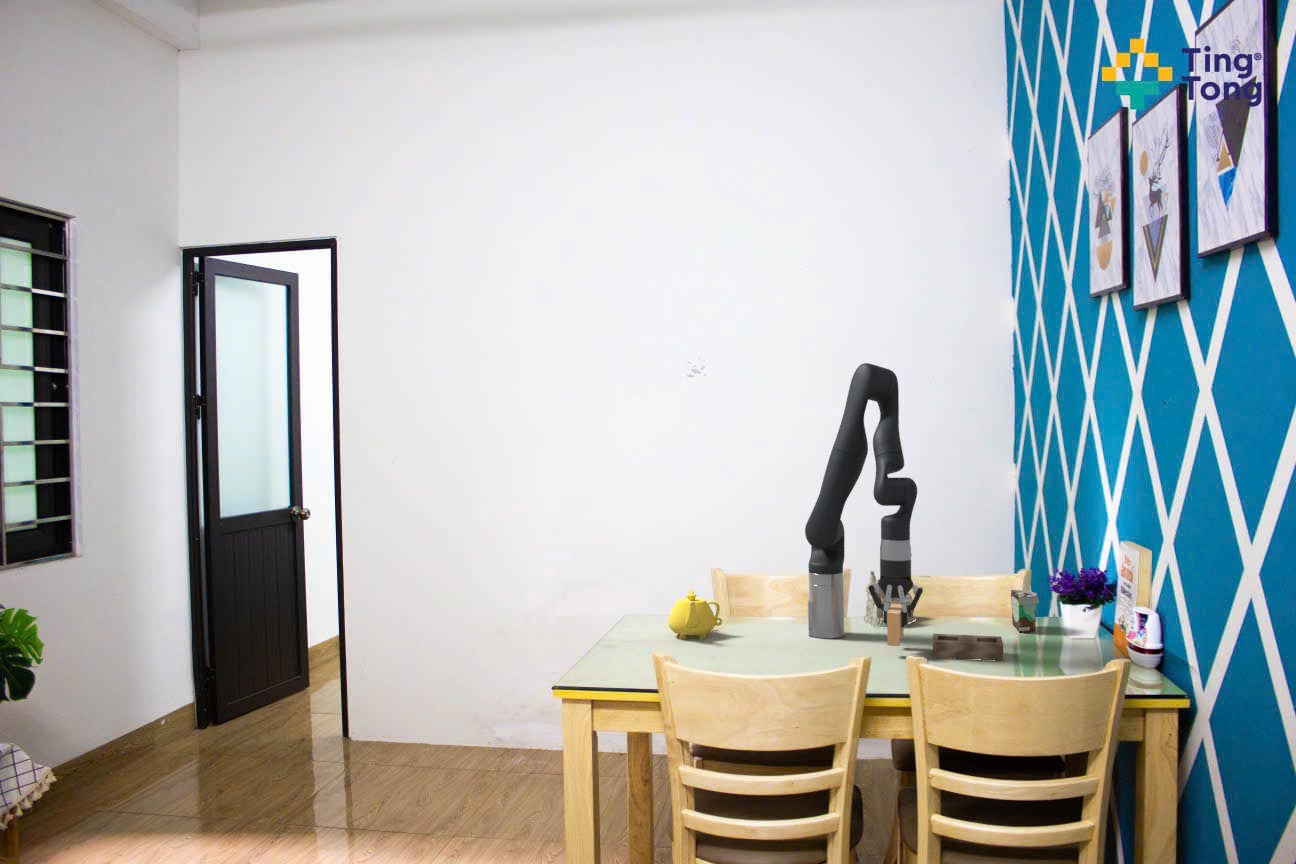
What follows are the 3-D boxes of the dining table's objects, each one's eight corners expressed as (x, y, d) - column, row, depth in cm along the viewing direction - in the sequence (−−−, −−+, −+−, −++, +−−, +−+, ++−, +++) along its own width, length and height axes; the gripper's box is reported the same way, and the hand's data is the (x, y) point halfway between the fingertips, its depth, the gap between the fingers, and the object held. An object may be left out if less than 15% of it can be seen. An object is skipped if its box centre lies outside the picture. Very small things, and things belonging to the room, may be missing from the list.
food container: (1044, 635, 245) (1043, 597, 245) (1020, 634, 247) (1019, 597, 247) (1034, 625, 258) (1033, 589, 258) (1011, 625, 259) (1010, 589, 259)
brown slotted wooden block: (933, 657, 224) (932, 641, 224) (933, 649, 233) (933, 633, 233) (1003, 661, 219) (1003, 644, 219) (1001, 652, 228) (1001, 636, 228)
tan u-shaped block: (899, 646, 224) (899, 613, 224) (887, 645, 225) (886, 612, 225) (904, 635, 236) (903, 604, 236) (892, 635, 237) (891, 603, 237)
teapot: (724, 643, 245) (723, 600, 245) (668, 644, 245) (667, 601, 245) (720, 627, 265) (719, 587, 265) (668, 628, 265) (668, 588, 265)
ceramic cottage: (873, 628, 258) (874, 574, 259) (857, 618, 275) (858, 568, 275) (927, 630, 259) (929, 576, 259) (909, 620, 275) (910, 570, 276)
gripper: (864, 558, 229) (865, 627, 229) (923, 560, 224) (923, 631, 224) (868, 554, 236) (869, 621, 236) (925, 556, 231) (926, 625, 232)
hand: (895, 625), depth 230 cm, fingers closed on tan u-shaped block, 3 cm apart
